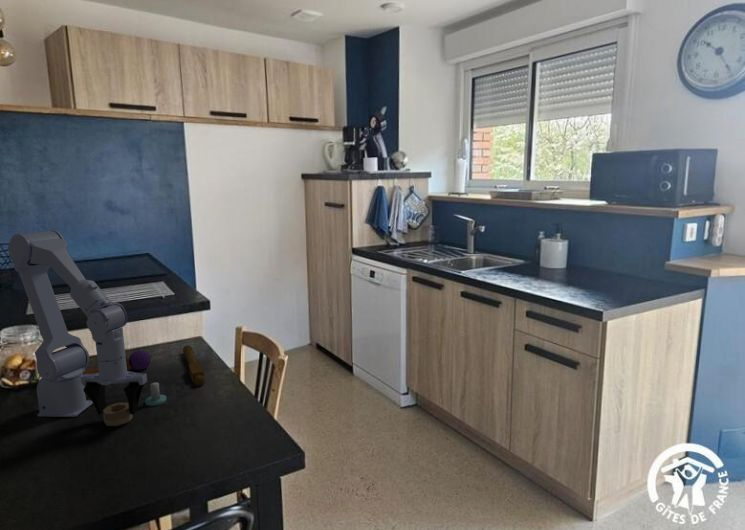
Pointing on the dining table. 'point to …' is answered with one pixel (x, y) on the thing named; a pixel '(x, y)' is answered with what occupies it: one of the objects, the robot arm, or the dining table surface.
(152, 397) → the toy mushroom
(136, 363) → the kendama
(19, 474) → the dining table surface
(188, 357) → the wooden baluster
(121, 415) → the ring
